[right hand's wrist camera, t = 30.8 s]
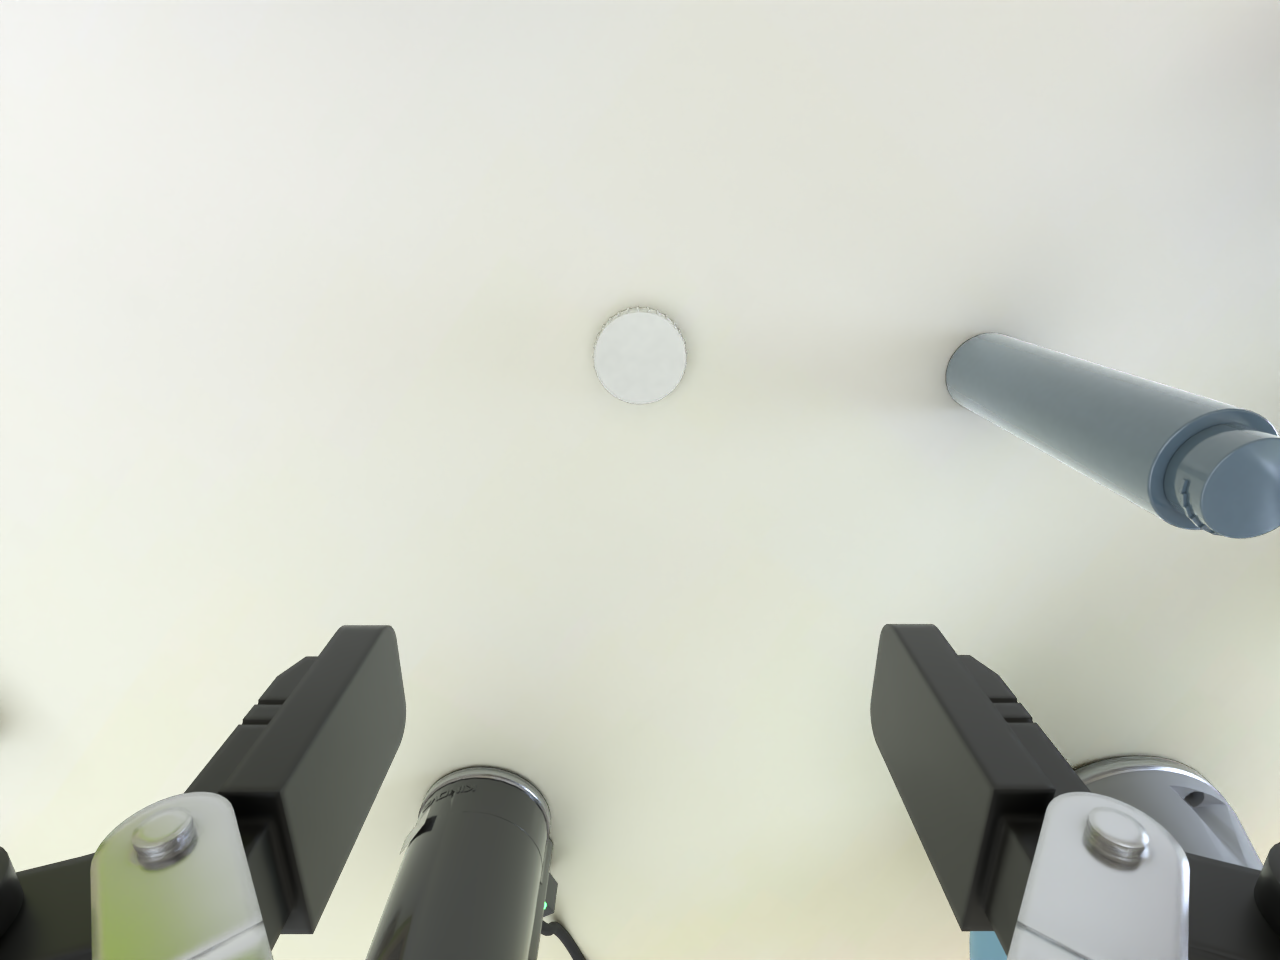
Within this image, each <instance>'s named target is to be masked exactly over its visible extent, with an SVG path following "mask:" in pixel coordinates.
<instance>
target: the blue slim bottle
mask: <svg viewBox="0 0 1280 960" xmlns="http://www.w3.org/2000/svg"><path fill="white" fill-rule="evenodd" d="M946 384H947V388H948V391H949V393H950V395H951V396H952V398H953V399H954V400H955V401H956V402H957V403H958V404H960V405H962V406H963V407H965V408H967V409H969V410H970V411H972V412H974V413H976V414H977V415H979V416H981V417H983V418H984V419H986V420H988V421H990V422H991V423H993V424H995V425H997V426H998V427H1000V428H1002V429H1004V430H1005V431H1007V432H1009V433H1011V434H1012V435H1014V436H1016V437H1018V438H1019V439H1021V440H1023V441H1025V442H1026V443H1028V444H1030V445H1032V446H1033V447H1035V448H1037V449H1039V450H1041V451H1042V452H1044V453H1046V454H1048V455H1049V456H1051V457H1053V458H1055V459H1056V460H1058V461H1060V462H1062V463H1063V464H1065V465H1067V466H1069V467H1070V468H1072V469H1074V470H1076V471H1077V472H1079V473H1081V474H1083V475H1084V476H1086V477H1088V478H1090V479H1091V480H1093V481H1095V482H1097V483H1098V484H1100V485H1102V486H1104V487H1106V488H1107V489H1109V490H1111V491H1113V492H1114V493H1116V494H1118V495H1120V496H1121V497H1123V498H1125V499H1127V500H1128V501H1130V502H1132V503H1134V504H1135V505H1137V506H1139V507H1141V508H1142V509H1144V510H1146V511H1148V512H1149V513H1151V514H1153V515H1155V516H1156V517H1158V518H1160V519H1162V520H1163V521H1165V522H1167V523H1169V524H1170V525H1173V526H1176V527H1179V528H1183V529H1190V530H1205V531H1207V532H1209V533H1211V534H1213V535H1220V536H1225V537H1229V538H1238V539H1239V538H1252V537H1256V536H1260V535H1263V534H1266V533H1268V532H1270V531H1272V530H1274V529H1276V528H1278V527H1279V526H1280V437H1279V436H1278V434H1277V432H1276V430H1275V428H1274V427H1273V426H1272V424H1271V423H1270V422H1269V421H1268V420H1266V419H1265V418H1264V417H1262V416H1261V415H1259V414H1257V413H1255V412H1253V411H1250V410H1246V409H1243V408H1240V407H1237V406H1233V405H1230V404H1227V403H1224V402H1220V401H1217V400H1214V399H1211V398H1208V397H1204V396H1201V395H1198V394H1195V393H1191V392H1188V391H1185V390H1182V389H1178V388H1175V387H1172V386H1169V385H1165V384H1162V383H1159V382H1156V381H1152V380H1149V379H1146V378H1143V377H1139V376H1136V375H1133V374H1130V373H1126V372H1123V371H1120V370H1117V369H1113V368H1110V367H1107V366H1104V365H1101V364H1097V363H1094V362H1091V361H1088V360H1084V359H1081V358H1078V357H1075V356H1071V355H1068V354H1065V353H1062V352H1058V351H1055V350H1052V349H1049V348H1045V347H1042V346H1039V345H1036V344H1032V343H1029V342H1026V341H1023V340H1019V339H1016V338H1013V337H1010V336H1006V335H1003V334H999V333H985V334H981V335H977V336H975V337H973V338H971V339H969V340H968V341H966V342H965V343H963V344H962V345H961V346H960V347H959V348H958V349H957V350H956V351H955V353H954V354H953V356H952V358H951V359H950V361H949V364H948V367H947V371H946Z"/></svg>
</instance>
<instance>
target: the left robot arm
mask: <svg viewBox="0 0 1280 960" xmlns="http://www.w3.org/2000/svg"><path fill="white" fill-rule="evenodd" d="M1075 772H1076V774H1077V775H1078V776H1079V777H1080V779H1081V780H1082V781H1083V783H1084V784H1085V785H1086V786H1087V788H1088V789H1089V790H1090V791H1091V793H1096V794H1100V795H1104V796H1108V797H1111V798H1114V799H1117V800H1120V801H1122V802H1124V803H1126V804H1129V805H1131V806H1133V807H1135V808H1136V809H1138V810H1140V811H1142V812H1144V813H1145V814H1147V815H1148V816H1150V817H1151V818H1153V819H1154V820H1155V821H1157V822H1158V823H1159V824H1160V825H1162V826H1163V827H1164V828H1165V829H1166V830H1167V831H1168V832H1169V833H1170V834H1171V835H1172V836H1173V837H1174V838H1175V839H1176V841H1177V842H1178V843H1179V844H1180V846H1181V847H1182V849H1183V851H1184V852H1187V853H1191V854H1195V855H1199V856H1203V857H1207V858H1211V859H1215V860H1220V861H1224V862H1228V863H1232V864H1236V865H1240V866H1244V867H1248V868H1252V869H1256V870H1260V871H1261V870H1262V868H1263V865H1262V863H1261V861H1260V859H1259V857H1258V855H1257V853H1256V851H1255V849H1254V847H1253V846H1252V844H1251V842H1250V840H1249V838H1248V836H1247V834H1246V832H1245V830H1244V828H1243V826H1242V825H1241V823H1240V821H1239V819H1238V817H1237V815H1236V814H1235V812H1234V810H1233V809H1232V808H1231V806H1230V805H1229V804H1228V803H1227V801H1226V800H1225V798H1224V797H1223V796H1222V795H1221V794H1220V793H1219V792H1218V791H1217V790H1216V789H1215V788H1214V787H1213V786H1212V785H1211V784H1210V783H1209V782H1208V781H1207V780H1206V779H1205V778H1204V777H1203V776H1202V775H1201V774H1199V773H1198V772H1197V771H1195V770H1194V769H1192V768H1190V767H1188V766H1186V765H1184V764H1182V763H1179V762H1177V761H1173V760H1170V759H1166V758H1160V757H1153V756H1125V757H1117V758H1112V759H1107V760H1103V761H1099V762H1095V763H1092V764H1089V765H1087V766H1084V767H1081V768H1079V769H1077V770H1075ZM970 960H1007V956H1006V954H1005V952H1004V950H1003V948H1002V946H1001V944H1000V942H999V940H998V938H997V936H996V934H995V932H994V931H970Z"/></svg>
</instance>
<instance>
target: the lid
mask: <svg viewBox="0 0 1280 960" xmlns="http://www.w3.org/2000/svg"><path fill="white" fill-rule="evenodd" d="M597 339H598V340H597V342H595V345H594V348H595V350H594V354H593V358H594V368H595V370H596V373H597V377H598V378H599V380H600V382H601V383H602V385H603V386H604V387H605V389H606V390H607V391H608V392H609V393H611V394H612V395H613V396H615V397H616V398H618V399H620V400H622V401H625V402H628V403H632V404H648V403H652V402H656V401H658V400H660V399H662V398H664V397H666V396H667V395H668V394H670V393H671V392H672V391H673V390H674V389H675V388H676V386H677V385H678V384H679V382H680V380H681V378H682V376H683V374H684V373H685V372H684V371H685V367H686V364H687V361H686V354H687V350H686V348H685V345H684V344H685V341H684V338H682V337H681V331H680V329H677V327H676V325H675V322H674V321H673V322H672V321H671V320H670V319H669V318H668V316H667V315H664V314H662V313H660V312H659V310H656V311H655V310H652V309H649V307H647V308H639V306H637V308H632V309H629V308H627V310H625V311H622V312H620V311H619V312H618V313H617V315H615V316H614V317H610V318H609V321H608V322H607V323H606V324H604V325H603V327H602V330H601V332H600V333H598V336H597Z"/></svg>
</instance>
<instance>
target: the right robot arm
mask: <svg viewBox="0 0 1280 960" xmlns="http://www.w3.org/2000/svg"><path fill="white" fill-rule="evenodd" d="M870 710H871V723H872V729H873V734H874V737H875V741H876V743H877V745H878V748H879V750H880V752H881V754H882V756H883V759H884V761H885V763H886V765H887V767H888V770H889V772H890V774H891V776H892V778H893V781H894V783H895V785H896V787H897V789H898V792H899V794H900V796H901V798H902V800H903V803H904V805H905V807H906V809H907V812H908V814H909V816H910V818H911V820H912V823H913V825H914V827H915V829H916V831H917V834H918V836H919V838H920V840H921V842H922V845H923V847H924V849H925V851H926V853H927V856H928V858H929V860H930V862H931V864H932V867H933V869H934V871H935V873H936V875H937V878H938V880H939V882H940V884H941V886H942V889H943V891H944V893H945V895H946V897H947V900H948V902H949V904H950V906H951V908H952V911H953V913H954V915H955V917H956V919H957V922H958V924H959V926H960V928H961V930H962V931H994V932H995V934H996V936H997V938H998V940H999V942H1000V944H1001V946H1002V948H1003V950H1004V952H1005V954H1006V956H1007V960H1280V842H1279V843H1278V844H1276V845H1274V846H1273V847H1272V848H1271V849H1270V851H1269V854H1268V856H1267V858H1266V861H1265V863H1264V866H1263V868H1262V870H1261V871H1260V870H1256V869H1252V868H1248V867H1244V866H1240V865H1236V864H1232V863H1228V862H1224V861H1220V860H1215V859H1211V858H1207V857H1203V856H1199V855H1195V854H1191V853H1187V852H1184V851H1183V849H1182V847H1181V846H1180V844H1179V843H1178V842H1177V841H1176V839H1175V838H1174V837H1173V836H1172V835H1171V834H1170V833H1169V832H1168V831H1167V830H1166V829H1165V828H1164V827H1163V826H1162V825H1160V824H1159V823H1158V822H1157V821H1155V820H1154V819H1153V818H1151V817H1150V816H1148V815H1147V814H1145V813H1144V812H1142V811H1140V810H1138V809H1136V808H1135V807H1133V806H1131V805H1129V804H1126V803H1124V802H1122V801H1120V800H1117V799H1114V798H1111V797H1108V796H1104V795H1100V794H1096V793H1091V791H1090V790H1089V789H1088V788H1087V786H1086V785H1085V784H1084V783H1083V781H1082V780H1081V779H1080V777H1079V776H1078V775H1077V774H1076V772H1075V771H1074V770H1073V769H1072V767H1071V766H1070V765H1069V764H1068V762H1067V761H1066V760H1065V759H1064V757H1063V756H1062V755H1061V753H1060V752H1059V751H1058V750H1057V748H1056V747H1055V746H1054V745H1053V743H1052V742H1051V741H1050V740H1049V738H1048V737H1047V736H1046V735H1045V733H1044V732H1043V731H1042V729H1041V728H1040V727H1039V726H1038V724H1037V723H1033V721H1032V717H1031V716H1030V714H1029V713H1028V712H1027V711H1026V709H1025V708H1024V707H1023V706H1022V704H1021V703H1017V698H1016V697H1015V695H1014V694H1013V693H1012V692H1011V690H1010V689H1009V688H1008V687H1007V685H1006V684H1005V683H1004V682H1003V680H1002V679H1001V678H1000V676H999V675H998V674H996V673H995V672H993V671H992V670H990V669H989V668H987V667H986V666H985V665H983V664H982V663H980V662H979V661H977V660H976V659H974V658H973V657H972V656H970V655H957V654H956V652H955V651H954V650H953V648H952V647H951V646H950V644H949V643H948V641H947V640H946V639H945V637H944V636H943V635H942V633H941V632H940V631H939V629H938V628H937V627H936V626H935V625H933V624H886V625H885V626H884V627H883V629H882V631H881V634H880V640H879V647H878V654H877V661H876V669H875V676H874V683H873V690H872V697H871V709H870ZM405 721H406V702H405V695H404V688H403V681H402V674H401V667H400V660H399V653H398V646H397V639H396V635H395V632H394V629H393V628H392V627H391V626H389V625H344V626H342V627H340V628H339V629H338V630H337V632H336V633H335V634H334V636H333V637H332V638H331V640H330V641H329V643H328V644H327V645H326V647H325V648H324V649H323V651H322V652H321V653H320V655H319V656H318V657H305V658H303V659H302V660H300V661H299V662H298V663H296V664H295V665H293V666H292V667H290V668H289V669H287V670H286V671H284V672H283V673H282V674H280V675H279V676H277V677H276V679H275V680H274V681H273V682H272V684H271V685H270V686H269V687H268V689H267V690H266V691H265V692H264V694H263V695H262V696H261V697H260V699H259V702H258V705H254V706H253V707H252V709H251V710H250V711H249V712H248V714H247V715H246V716H245V717H244V719H243V723H242V725H238V726H237V727H236V729H235V730H234V731H233V732H232V734H231V735H230V736H229V737H228V739H227V740H226V741H225V742H224V744H223V745H222V746H221V747H220V749H219V750H218V751H217V752H216V754H215V755H214V756H213V757H212V759H211V760H210V761H209V762H208V764H207V765H206V766H205V767H204V769H203V770H202V771H201V772H200V774H199V775H198V776H197V777H196V779H195V780H194V781H193V782H192V784H191V785H190V786H189V788H188V789H187V790H186V791H185V793H184V794H180V795H176V796H172V797H169V798H166V799H163V800H160V801H158V802H156V803H154V804H151V805H149V806H147V807H145V808H144V809H142V810H140V811H138V812H136V813H135V814H133V815H132V816H130V817H129V818H127V819H126V820H125V821H123V822H122V823H121V824H120V825H118V826H117V827H116V828H115V829H114V830H113V831H112V832H111V833H110V834H109V835H108V836H107V837H106V838H105V839H104V840H103V842H102V843H101V844H100V846H99V847H98V849H97V851H96V852H95V853H92V854H89V855H85V856H82V857H78V858H73V859H69V860H65V861H61V862H57V863H53V864H49V865H45V866H41V867H37V868H33V869H29V870H25V871H20V872H15V870H14V868H13V865H12V863H11V861H10V858H9V856H8V854H7V852H6V851H5V850H4V849H3V848H2V847H0V960H273V956H272V952H271V951H272V949H273V947H274V945H275V943H276V941H277V939H278V937H279V935H280V934H313V933H314V931H315V928H316V926H317V924H318V922H319V920H320V917H321V915H322V913H323V911H324V909H325V907H326V904H327V902H328V900H329V898H330V896H331V894H332V891H333V889H334V887H335V885H336V883H337V880H338V878H339V876H340V874H341V872H342V870H343V867H344V865H345V863H346V861H347V859H348V857H349V854H350V852H351V850H352V848H353V846H354V844H355V841H356V839H357V837H358V835H359V833H360V830H361V828H362V826H363V824H364V822H365V820H366V817H367V815H368V813H369V811H370V809H371V807H372V804H373V802H374V800H375V798H376V796H377V793H378V791H379V789H380V787H381V785H382V783H383V780H384V778H385V776H386V774H387V772H388V770H389V767H390V765H391V763H392V761H393V759H394V757H395V754H396V752H397V750H398V748H399V746H400V743H401V740H402V737H403V733H404V728H405ZM550 825H551V817H550V811H549V808H548V805H547V803H546V801H545V799H544V798H543V796H542V795H541V793H540V792H539V791H538V790H537V789H536V788H535V787H534V786H533V785H532V784H530V783H529V782H528V781H526V780H525V779H523V778H521V777H520V776H517V775H515V774H513V773H510V772H508V771H504V770H500V769H496V768H487V767H475V768H467V769H462V770H458V771H455V772H453V773H450V774H448V775H446V776H445V777H443V778H441V779H440V780H439V781H437V782H436V783H435V784H434V785H433V786H432V787H431V788H430V789H429V791H428V792H427V794H426V796H425V798H424V800H423V803H422V806H421V809H420V811H419V816H418V821H417V824H416V826H415V827H414V828H413V830H412V831H411V832H410V834H409V835H408V836H407V837H406V839H405V842H404V844H403V847H402V849H401V852H402V851H403V850H404V849H405V847H406V846H407V845H408V847H407V849H406V852H405V855H404V858H403V860H402V863H401V866H400V868H399V871H398V874H397V876H396V879H395V882H394V884H393V887H392V890H391V892H390V895H389V898H388V900H387V903H386V906H385V909H384V911H383V914H382V917H381V919H380V922H379V925H378V927H377V930H376V933H375V935H374V938H373V941H372V943H371V946H370V949H369V951H368V954H367V957H366V960H537V956H538V948H539V941H540V934H543V935H545V936H550V935H552V934H555V935H556V936H557V937H558V938H559V939H560V940H561V942H562V943H563V944H564V946H565V947H566V949H567V950H568V952H569V953H570V955H571V957H572V958H573V960H585V958H584V957H583V955H582V953H581V952H580V950H579V948H578V946H577V945H576V943H575V942H574V940H573V939H572V937H571V936H570V935H569V933H568V932H567V931H566V930H565V929H564V928H563V927H562V926H561V925H560V924H559V923H557V922H550V923H549V924H548V923H546V922H544V921H543V917H545V916H547V915H550V914H552V913H554V909H555V901H556V893H557V885H558V884H557V882H556V881H555V879H554V878H553V877H552V875H551V874H550V873H549V870H550V863H551V855H552V848H553V843H552V841H551V840H550V839H549V831H550ZM401 852H400V854H401Z"/></svg>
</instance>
